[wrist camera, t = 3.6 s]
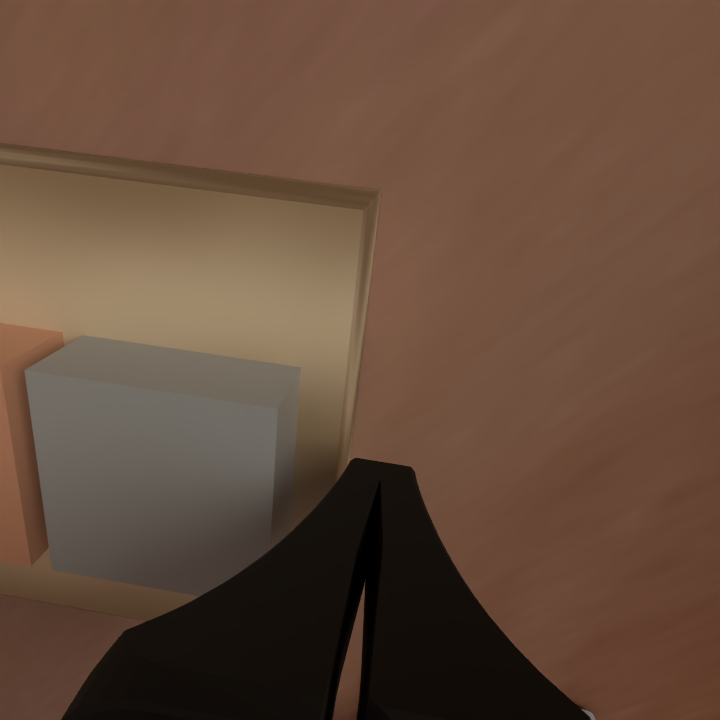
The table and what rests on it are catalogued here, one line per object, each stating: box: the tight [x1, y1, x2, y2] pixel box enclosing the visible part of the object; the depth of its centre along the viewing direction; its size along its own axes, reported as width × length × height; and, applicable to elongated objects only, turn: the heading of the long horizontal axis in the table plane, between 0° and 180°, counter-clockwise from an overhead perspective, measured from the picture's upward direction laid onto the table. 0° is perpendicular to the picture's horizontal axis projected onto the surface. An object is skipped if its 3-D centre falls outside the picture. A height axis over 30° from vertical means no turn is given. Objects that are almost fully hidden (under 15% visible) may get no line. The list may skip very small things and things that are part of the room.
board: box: [0, 143, 381, 621], centre depth 15 cm, size 12×14×4 cm
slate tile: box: [24, 335, 301, 596], centre depth 12 cm, size 5×5×2 cm
